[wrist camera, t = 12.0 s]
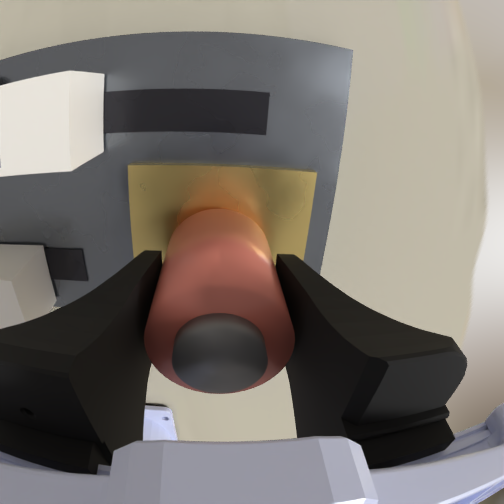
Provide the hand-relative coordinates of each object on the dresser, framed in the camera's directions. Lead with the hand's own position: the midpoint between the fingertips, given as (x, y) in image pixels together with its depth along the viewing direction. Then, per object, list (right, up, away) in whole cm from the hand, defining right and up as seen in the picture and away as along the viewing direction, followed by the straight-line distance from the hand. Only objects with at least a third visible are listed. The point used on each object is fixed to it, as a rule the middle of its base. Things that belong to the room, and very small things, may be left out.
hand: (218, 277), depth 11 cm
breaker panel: (-4, +4, +1) cm, 5 cm away
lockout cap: (0, +1, +1) cm, 2 cm away
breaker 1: (-6, +6, -1) cm, 9 cm away
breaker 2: (-10, 0, +1) cm, 10 cm away
